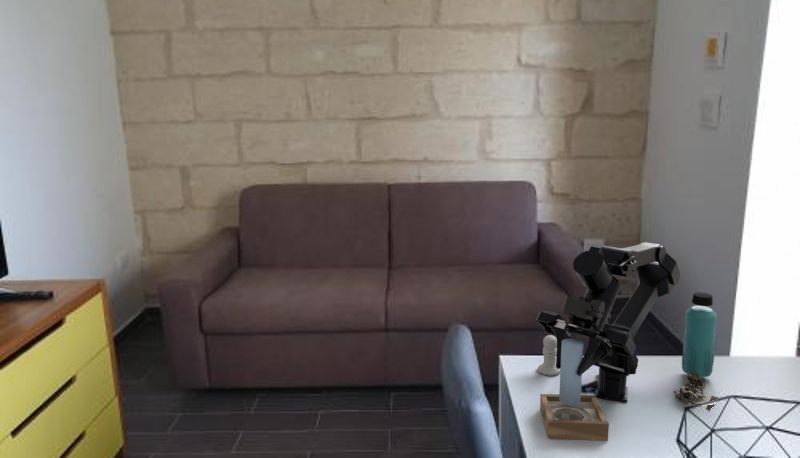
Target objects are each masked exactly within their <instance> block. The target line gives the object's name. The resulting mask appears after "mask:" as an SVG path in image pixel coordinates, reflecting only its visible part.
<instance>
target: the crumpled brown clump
mask: <svg viewBox="0 0 800 458" xmlns="http://www.w3.org/2000/svg"><path fill="white" fill-rule="evenodd" d="M690 374H691V375H688V376H687V383H686V384H685V383H684V386H681V387H679V388H678V392H677V391H676V390H673V394H674V396H675V397H676V398H679V401H682V402H685V403H687V404H688V405H689V404H691V405H694V406H695V405H696V406H697V405H699V404H701V403H705V402H708V401H712V400H716V399H720V398H721V397H717V396H714V395H710V394H704V389H705V388H706V383H703V380H702V379H701V377H699V375H698V373H696V372H694V371H690ZM686 397H688V398H686ZM715 406H716V404H715V405H714V404H713V405H707V406H702V405H701V407H702V408H703V409H704V410H705V411H707V412H711V410H712V409H713V408H712V407H714V408H715ZM711 408H712V409H711Z"/></svg>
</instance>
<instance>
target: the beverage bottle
mask: <svg viewBox="0 0 800 458" xmlns="http://www.w3.org/2000/svg"><path fill="white" fill-rule="evenodd" d="M691 302H692V304H693V306H691V307H690V308H688V309H687V310H686V311H685V326H684V335H683V340H682V341H683V342H682V343H683V345H682V350H681V351H682V353H681V354H682V356H681V369H682V371H683V373H685V374H687V375H688V376H690V375H691V374H690V371H694V372H696V373H698V375H699V378H708V377H710V376H711V375H712V373H713V369H714V363H715V351H716V330H717V328H716V327H717V317H718V314H717V313H716V312H715V310H713V309H712V308H711V306H713V303H714V301H713V295H712V294H711V293H707V292H703V291H702V292H701V291H700V292H694V293H693V295H692V300H691Z"/></svg>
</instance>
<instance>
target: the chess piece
mask: <svg viewBox="0 0 800 458" xmlns="http://www.w3.org/2000/svg"><path fill="white" fill-rule="evenodd" d="M542 340H543V341H542V344H543V347H542V354H543V362H542V363H541V364H539V365H538V366H537V371H538V372H539V373H540V374H542V375H544V376H549V377H550V376H557V375H559V374H560V369H557V368H556V355H557V338H556V336H555V335H551V334H548V335H546V336H544V337H543V339H542Z"/></svg>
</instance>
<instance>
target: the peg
mask: <svg viewBox="0 0 800 458" xmlns="http://www.w3.org/2000/svg"><path fill="white" fill-rule="evenodd" d="M583 356H584V342H583V341H582V340H580V339H576V338H571V339H564V340H562V345H561V368H560V373H559V374H560V375H559V401H560V402H561V403H563V404H565V405H569V406H575V405H578V404H580V402H581V395H582V381H583V380H582V378H583V374H582V375H581V376H578V375H577V370H578V367H579V365H580V363H581V361H582V359H583Z"/></svg>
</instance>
